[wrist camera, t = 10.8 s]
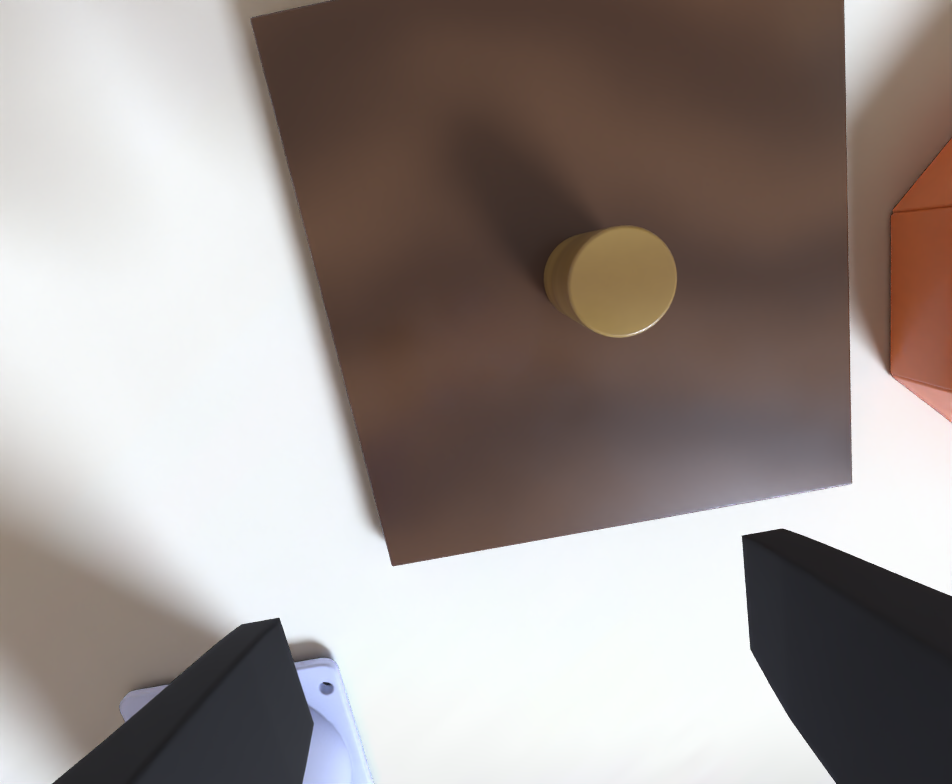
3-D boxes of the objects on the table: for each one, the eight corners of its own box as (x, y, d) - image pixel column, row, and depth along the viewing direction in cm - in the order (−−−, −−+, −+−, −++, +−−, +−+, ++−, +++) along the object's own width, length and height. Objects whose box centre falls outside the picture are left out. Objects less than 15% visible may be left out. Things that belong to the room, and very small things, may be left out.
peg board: (832, 472, 18) (961, 548, 13) (396, 551, 18) (370, 651, 14) (817, -86, 14) (994, -260, 9) (263, 33, 14) (165, -76, 10)
